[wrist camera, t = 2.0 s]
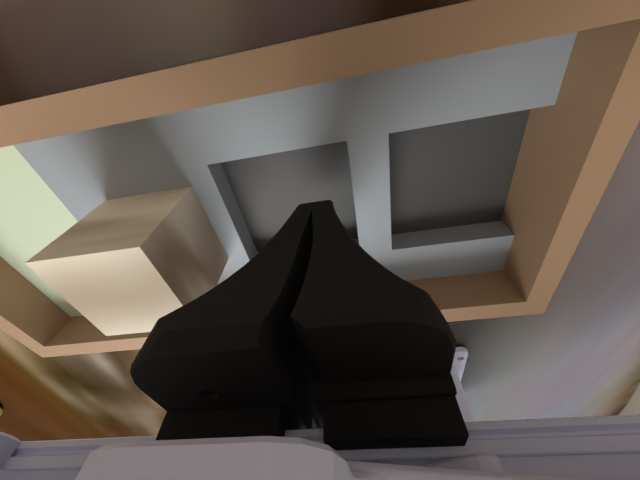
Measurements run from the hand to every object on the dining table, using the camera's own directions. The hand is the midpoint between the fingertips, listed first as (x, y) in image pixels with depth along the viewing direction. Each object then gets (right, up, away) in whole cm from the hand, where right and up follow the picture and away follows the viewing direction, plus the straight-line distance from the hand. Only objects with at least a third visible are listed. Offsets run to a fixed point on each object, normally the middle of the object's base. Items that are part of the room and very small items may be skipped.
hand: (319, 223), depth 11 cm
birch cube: (-7, 0, +2) cm, 7 cm away
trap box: (-4, +1, +3) cm, 5 cm away
